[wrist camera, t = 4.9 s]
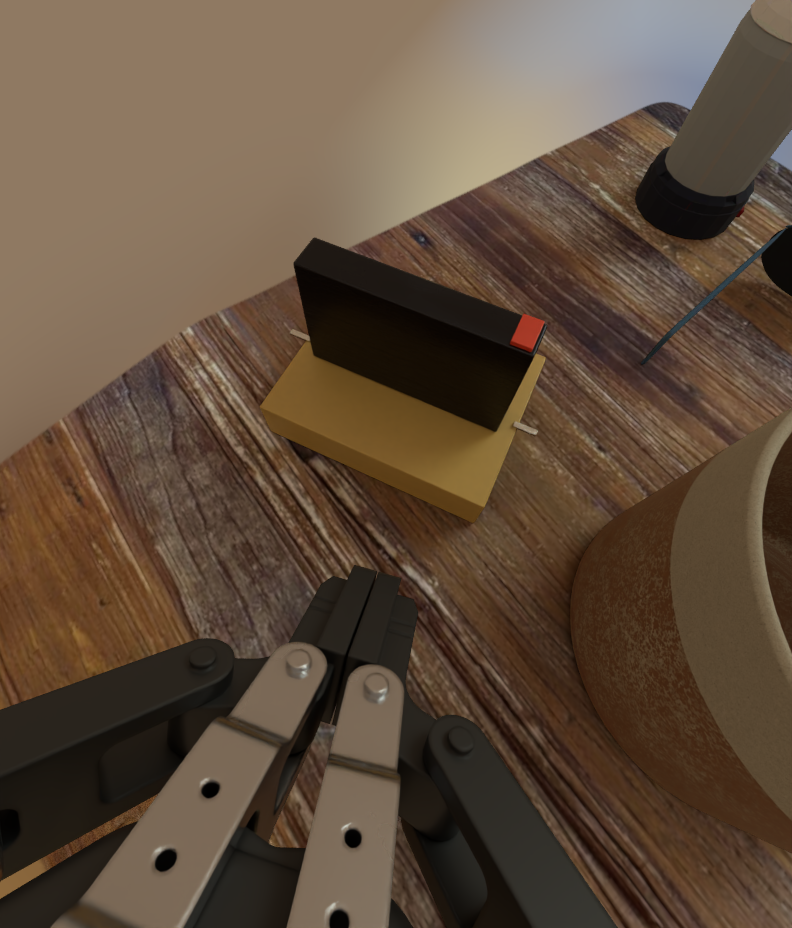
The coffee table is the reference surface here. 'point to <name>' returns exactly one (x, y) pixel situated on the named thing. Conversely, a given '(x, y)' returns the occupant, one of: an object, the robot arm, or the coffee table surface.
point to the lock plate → (394, 432)
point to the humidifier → (726, 131)
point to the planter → (700, 633)
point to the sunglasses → (783, 258)
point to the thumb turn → (415, 333)
